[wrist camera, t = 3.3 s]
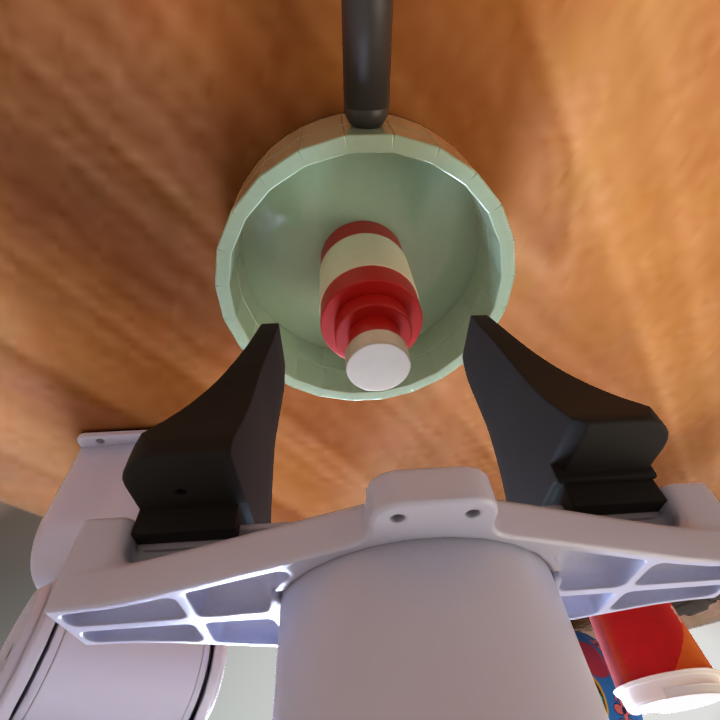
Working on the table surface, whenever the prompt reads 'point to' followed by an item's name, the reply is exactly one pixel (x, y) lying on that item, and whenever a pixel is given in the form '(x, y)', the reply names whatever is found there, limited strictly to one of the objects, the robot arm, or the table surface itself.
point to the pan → (363, 203)
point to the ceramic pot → (603, 678)
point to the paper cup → (655, 661)
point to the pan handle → (366, 61)
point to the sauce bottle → (368, 304)
